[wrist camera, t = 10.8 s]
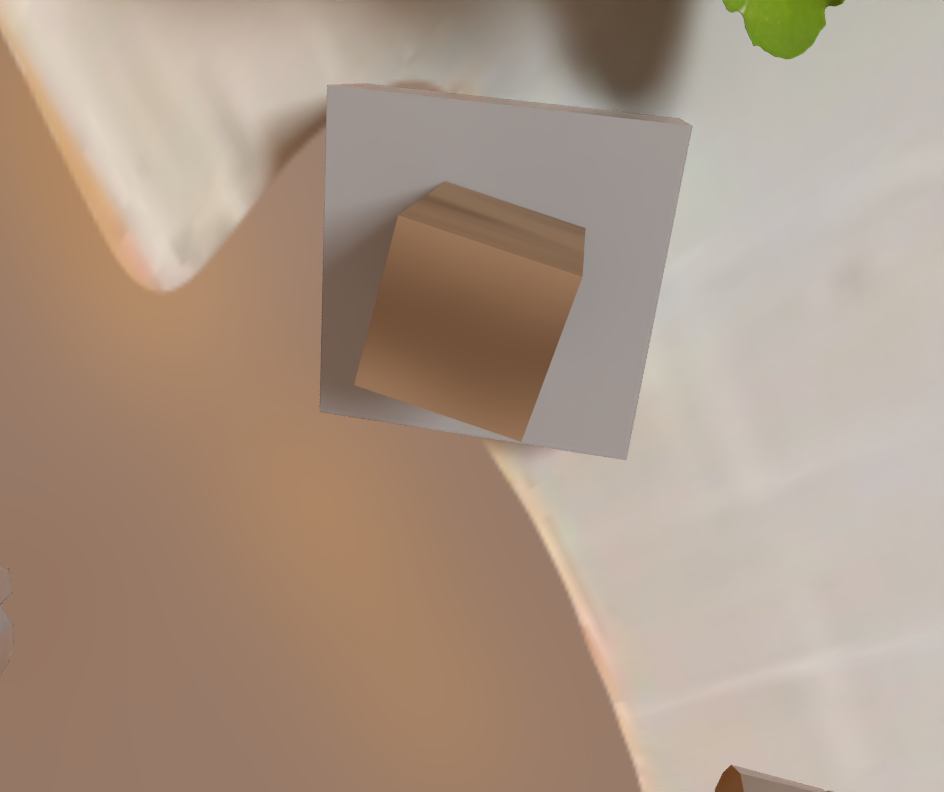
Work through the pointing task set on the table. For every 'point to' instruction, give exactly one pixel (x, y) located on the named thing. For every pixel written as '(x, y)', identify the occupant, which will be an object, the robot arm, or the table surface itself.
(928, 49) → the table surface
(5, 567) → the robot arm
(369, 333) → the walnut block
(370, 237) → the plate
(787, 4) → the potted flower
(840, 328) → the table surface
